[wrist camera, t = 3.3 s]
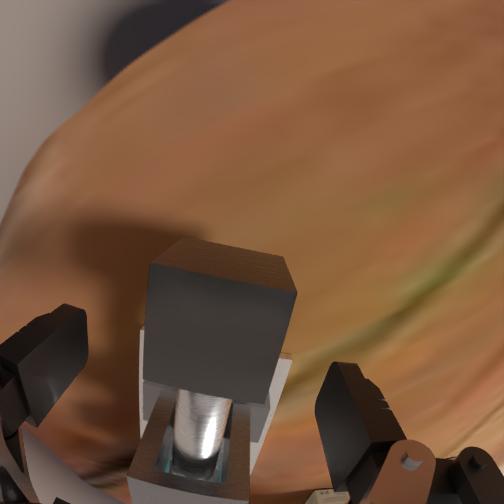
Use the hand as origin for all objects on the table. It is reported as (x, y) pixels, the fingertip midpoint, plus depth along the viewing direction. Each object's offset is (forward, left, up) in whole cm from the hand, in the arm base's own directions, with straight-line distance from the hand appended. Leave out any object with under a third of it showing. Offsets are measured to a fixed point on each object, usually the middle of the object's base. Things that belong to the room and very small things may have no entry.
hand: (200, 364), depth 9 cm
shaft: (0, +11, -7) cm, 13 cm away
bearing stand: (0, +16, -11) cm, 19 cm away
